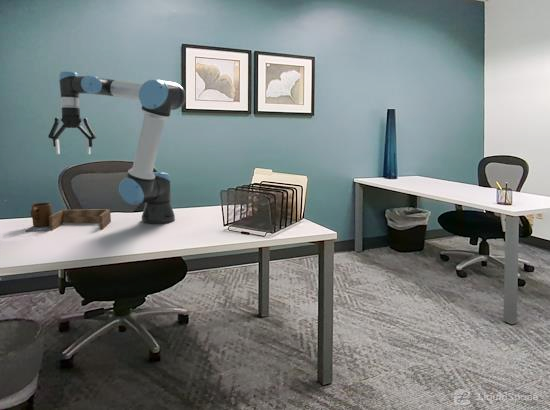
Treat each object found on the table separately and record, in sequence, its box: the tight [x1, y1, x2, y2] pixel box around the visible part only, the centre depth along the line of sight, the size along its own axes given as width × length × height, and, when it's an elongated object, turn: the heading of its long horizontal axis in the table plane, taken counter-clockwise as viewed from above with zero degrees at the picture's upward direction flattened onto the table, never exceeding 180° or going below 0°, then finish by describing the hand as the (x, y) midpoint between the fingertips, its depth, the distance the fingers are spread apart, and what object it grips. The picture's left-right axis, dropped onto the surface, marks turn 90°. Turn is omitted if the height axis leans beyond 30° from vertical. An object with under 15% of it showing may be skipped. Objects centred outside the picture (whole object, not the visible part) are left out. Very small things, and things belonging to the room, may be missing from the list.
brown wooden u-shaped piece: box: [49, 208, 112, 231], centre depth 192 cm, size 21×15×6 cm
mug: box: [30, 202, 53, 227], centre depth 187 cm, size 12×8×9 cm, turn 2°
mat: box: [25, 225, 51, 233], centre depth 188 cm, size 9×13×1 cm, turn 8°
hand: (73, 154), depth 201 cm, fingers open, 13 cm apart
